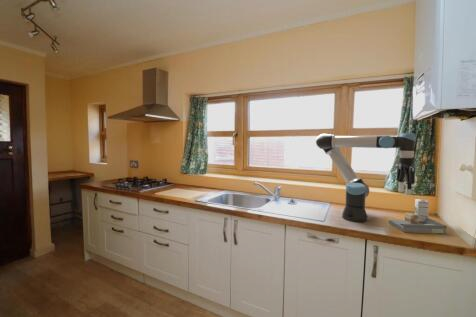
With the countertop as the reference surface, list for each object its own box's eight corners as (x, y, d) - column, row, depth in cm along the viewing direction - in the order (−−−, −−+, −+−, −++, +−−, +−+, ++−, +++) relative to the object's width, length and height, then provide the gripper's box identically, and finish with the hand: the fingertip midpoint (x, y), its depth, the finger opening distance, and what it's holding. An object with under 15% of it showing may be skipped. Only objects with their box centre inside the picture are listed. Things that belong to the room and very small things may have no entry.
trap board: (403, 232, 127) (404, 224, 127) (388, 223, 141) (388, 216, 141) (445, 233, 126) (446, 225, 126) (426, 224, 140) (426, 217, 140)
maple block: (410, 223, 135) (410, 215, 134) (404, 220, 140) (405, 212, 139) (418, 223, 134) (419, 215, 134) (412, 220, 139) (413, 212, 139)
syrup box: (428, 224, 140) (429, 201, 139) (416, 223, 143) (418, 200, 142) (424, 221, 145) (426, 199, 145) (413, 220, 148) (415, 198, 147)
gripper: (424, 158, 133) (421, 196, 134) (402, 156, 152) (400, 190, 153) (410, 158, 133) (408, 196, 135) (391, 156, 152) (389, 189, 154)
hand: (404, 192), depth 144 cm, fingers open, 6 cm apart
